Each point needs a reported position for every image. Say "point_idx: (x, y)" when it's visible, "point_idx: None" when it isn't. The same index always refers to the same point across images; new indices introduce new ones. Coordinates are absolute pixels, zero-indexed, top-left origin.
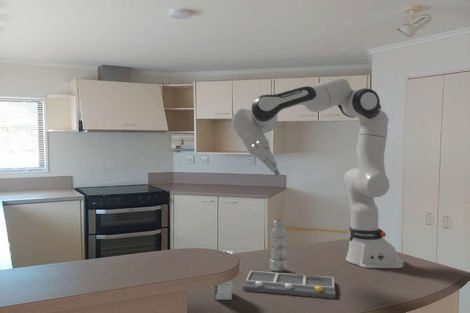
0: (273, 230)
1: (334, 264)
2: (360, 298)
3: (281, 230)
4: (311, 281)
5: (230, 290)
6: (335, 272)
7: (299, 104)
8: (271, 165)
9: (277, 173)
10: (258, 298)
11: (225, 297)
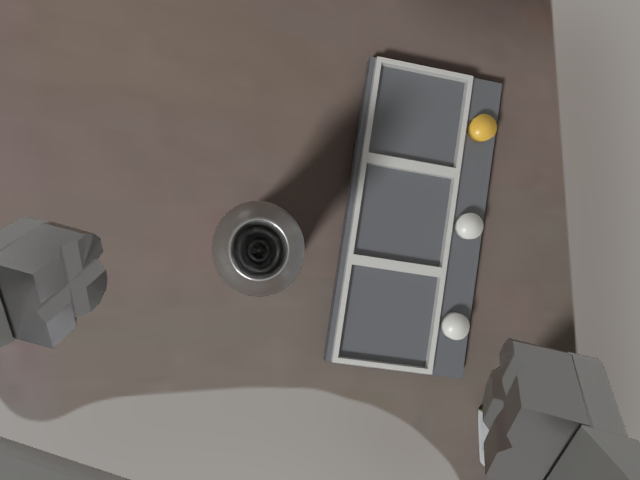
0: (282, 281)
1: (161, 8)
2: (487, 11)
3: (293, 234)
4: (402, 140)
5: None
6: (260, 29)
7: None
8: (632, 468)
9: (85, 269)
10: (509, 323)
11: None
